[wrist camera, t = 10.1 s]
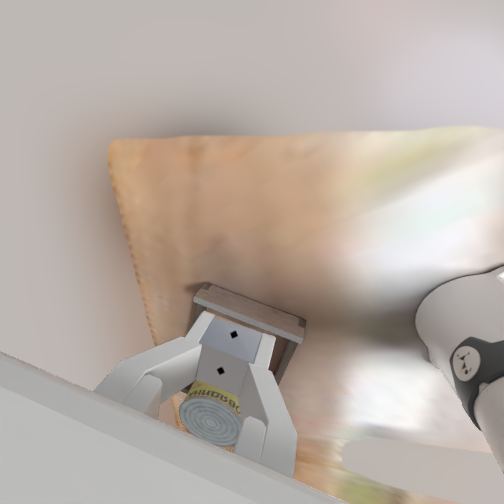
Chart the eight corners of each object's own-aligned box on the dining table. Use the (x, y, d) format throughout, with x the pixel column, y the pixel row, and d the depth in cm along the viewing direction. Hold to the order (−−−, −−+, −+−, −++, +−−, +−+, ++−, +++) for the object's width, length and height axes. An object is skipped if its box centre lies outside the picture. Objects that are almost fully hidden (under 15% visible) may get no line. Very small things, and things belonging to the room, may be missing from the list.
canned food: (264, 353, 50) (247, 411, 40) (257, 393, 55) (240, 455, 45) (208, 337, 53) (178, 389, 42) (206, 377, 57) (179, 433, 47)
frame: (306, 320, 45) (303, 338, 41) (266, 405, 56) (261, 426, 52) (205, 282, 47) (194, 296, 43) (186, 371, 58) (175, 388, 54)
